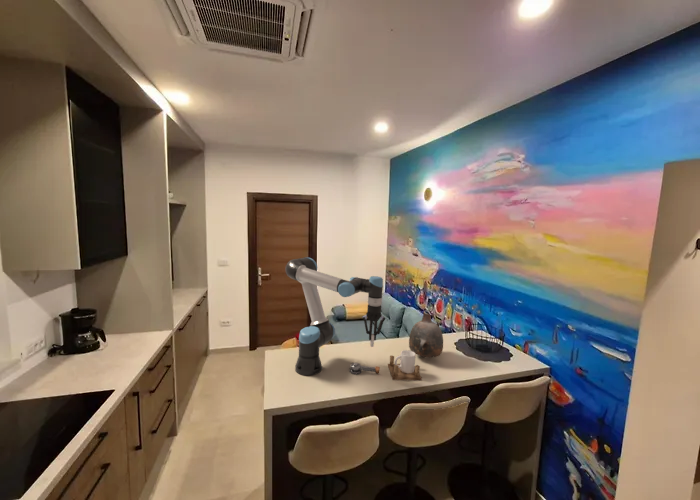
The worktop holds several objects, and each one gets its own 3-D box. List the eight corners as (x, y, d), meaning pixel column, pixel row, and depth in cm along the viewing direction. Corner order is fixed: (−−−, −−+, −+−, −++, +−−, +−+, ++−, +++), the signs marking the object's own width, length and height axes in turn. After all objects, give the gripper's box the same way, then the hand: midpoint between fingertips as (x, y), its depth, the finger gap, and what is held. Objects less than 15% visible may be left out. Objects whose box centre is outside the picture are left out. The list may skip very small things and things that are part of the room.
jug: (447, 366, 186) (451, 318, 184) (412, 365, 186) (415, 317, 183) (435, 349, 211) (439, 307, 208) (404, 348, 211) (407, 306, 208)
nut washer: (349, 374, 172) (349, 372, 172) (349, 368, 179) (349, 366, 179) (362, 374, 172) (362, 372, 172) (360, 368, 179) (360, 366, 179)
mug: (396, 374, 171) (397, 356, 170) (391, 367, 179) (392, 350, 178) (416, 373, 173) (417, 356, 172) (411, 366, 181) (412, 349, 180)
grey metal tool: (379, 375, 170) (379, 369, 170) (349, 371, 173) (349, 365, 173) (379, 370, 176) (380, 364, 176) (351, 366, 179) (351, 360, 179)
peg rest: (392, 379, 168) (393, 367, 167) (387, 365, 184) (388, 354, 183) (421, 380, 169) (422, 368, 168) (413, 366, 185) (414, 355, 184)
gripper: (363, 306, 164) (360, 348, 166) (387, 307, 165) (384, 348, 167) (362, 302, 172) (359, 342, 174) (385, 303, 172) (382, 343, 175)
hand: (371, 345), depth 171 cm, fingers closed
